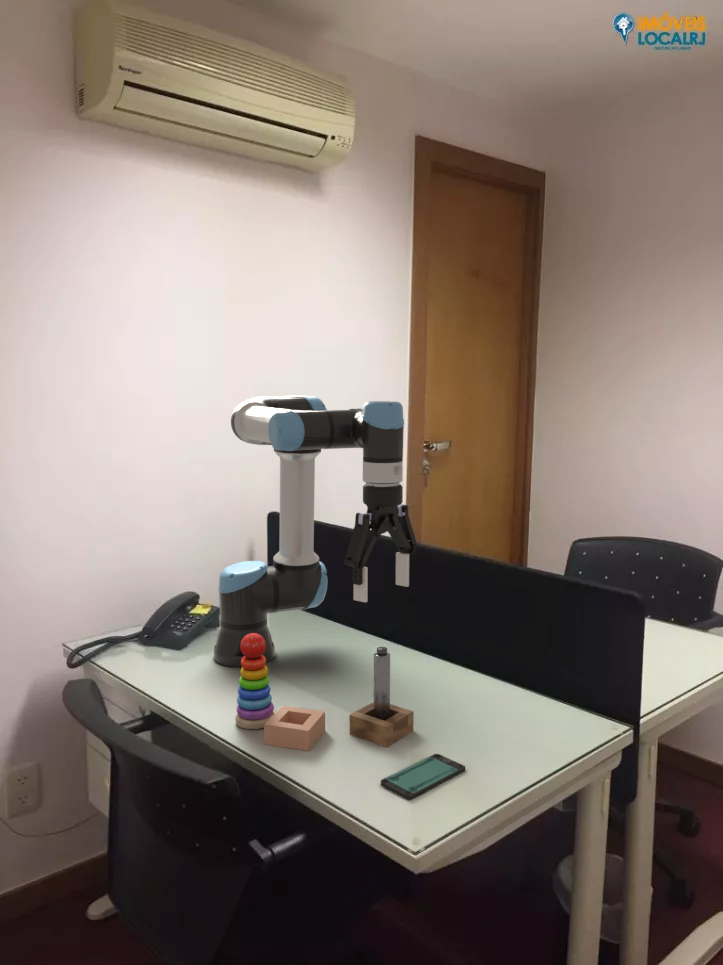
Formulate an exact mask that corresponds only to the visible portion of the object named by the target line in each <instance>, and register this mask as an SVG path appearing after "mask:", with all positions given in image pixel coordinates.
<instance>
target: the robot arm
mask: <svg viewBox="0 0 723 965" xmlns="http://www.w3.org/2000/svg"><path fill="white" fill-rule="evenodd" d="M327 409H328V408H326V405H325V403H324V402H323V401H322V399H320V398H319V397H317V396H312V395H311V396H309V395H283V396H282V395H281V396H278V395H277V396H276V395H275V396H257V397H251V398H250V399H246V400H245V401H242V402H241V403H239V404H238V405H237V406H236V407H235V408H234V409H233V412H232V413H231V417H230V427H231V430H232V432H233V434H234V435H235V436H236V438H237V439H238V440H240V441H242V442H244V443H248V444H252V445H256V446H257V445H259V446H272V448H273V452H274V453H275V454H276V455H277V456H278V457H279V540H278V541H279V545H278V547H279V550H278V552H277V553H276V554H275V555H274V556H273V564H272V565H271V566H268V565H267V564H266V562H264V561H262V560H244V561H240V562H236V563H233V564H230V565H228V566H226V567H225V568H223V569H222V570H221V572H220V574H219V578H218V579H219V581H218V592H219V594H218V595H219V624H220V625H219V626H220V627H219V630H218V634H217V639H216V644H215V645H214V647H213V659H214V661H215V662H216V663H217V664H220V665H223V666H227V667H235V668H236V667H237V668H239V667H241V668H242V665H241V660H242V658H243V657H244V655H243V653H242V652H241V648H240V644H241V641H242V639H243V638H244V637H245V636H246V635H248V634H251V633H257V634H259V635H261V636H262V637H263V638H264V640H265V642H266V649H265V652H264V653H263V654H262V655H263V656H264V657H265V658H266V663H267V662H270V661H271V660H273V659H274V658H275V656H276V650H275V643H274V641H273V639H272V635H271V632H270V629H269V626H268V614H272V613H273V614H274V613H281V612H290V611H299V610H302V611H304V610H307V609H311V608H316V607H318V606H320V605H321V604H322V602H323V601H324V600H325V596H326V594H327V590H328V582H329V581H328V575H327V573H328V571H327V568H326V566H325V563H323V562H322V561H320V557H319V555H318V554H317V553H316V552H315V550H314V544H315V543H314V541H315V540H314V539H315V538H314V535H315V530H314V529H315V484H316V483H315V480H316V479H315V478H316V477H315V470H316V458H317V457H318V456H319V454H321V453H322V450H328V449H329V450H330V449H331V450H334V449H336V450H337V449H358V448H359V449H362V452H363V453H362V455H363V456H362V481H363V482H364V483H365V484H363V486H362V503H363V504H364V505H365V506H366V507H367V510H366V513H365V512H364V513H363V512H356V513H355V519H354V520H355V521H354V527H353V530H352V533H351V537H350V541H349V543H348V548H347V551H346V554H345V557H344V562H343V564H344V565H345V566H349V567H351V568H352V584H353V601H357V602H362V603H367V602H368V575H369V574H368V571H369V570H368V567H367V566H365V565H366V563H367V562H368V559H369V557H370V554H371V553H372V551H373V549H374V545H375V544H376V541H377V539H378V538H380V537H381V536H382V535H383V534H385V533H388V534H389V536H390V538H391V539H392V541H393V543H394V544H395V546H396V548H397V550H398V551H397V552H395V585H397V586H401V587H405V588H407V587H409V586H410V566H411V565H410V563H411V561H410V558H411V557H410V555H411V554H414V553H415V552H416V548H417V546H418V543H417V540H416V537H415V532H414V530H413V526H412V522H411V518H410V517H409V506H408V504H402V503H403V494H404V493H403V489H404V488H403V486H402V484H400V483H402V482H403V478H404V477H403V460H404V458H403V457H404V428H405V427H404V425H405V420H404V408H403V404H402V403H401V402H399V401H391V400H389V401H387V400H386V401H385V400H382V401H380V400H379V401H378V400H376V401H374V400H373V401H366V402H365V403H364V405H363V408H360V407H359V408H349V409H334V410H327Z"/></svg>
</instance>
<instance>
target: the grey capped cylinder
mask: <svg viewBox="0 0 723 965" xmlns="http://www.w3.org/2000/svg"><path fill="white" fill-rule="evenodd" d="M373 702H374V717H375V718H378V719H381V720H384V721H385V720H387V719H389V718H390V704H391V654H390V652H388V647H385V646H379V647H377V648H376V652H374V653H373Z"/></svg>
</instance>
